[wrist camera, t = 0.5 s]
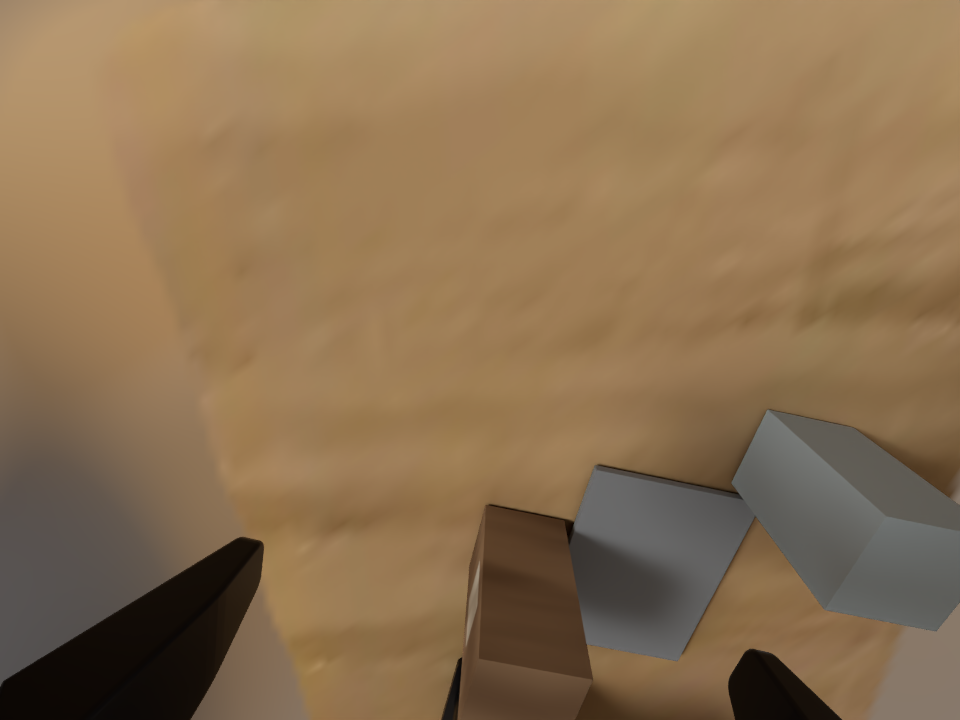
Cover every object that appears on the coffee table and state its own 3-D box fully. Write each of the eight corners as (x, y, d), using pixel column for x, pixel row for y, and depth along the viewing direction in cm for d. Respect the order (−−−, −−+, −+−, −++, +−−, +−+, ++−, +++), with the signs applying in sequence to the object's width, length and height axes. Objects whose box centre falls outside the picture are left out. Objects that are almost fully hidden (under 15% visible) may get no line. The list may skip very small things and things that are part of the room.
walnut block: (543, 579, 25) (561, 750, 18) (469, 565, 25) (456, 731, 18) (564, 520, 24) (593, 680, 16) (485, 504, 24) (478, 658, 16)
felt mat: (674, 654, 27) (677, 661, 26) (536, 628, 27) (536, 634, 26) (757, 498, 23) (761, 503, 22) (594, 464, 22) (596, 469, 22)
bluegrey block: (811, 499, 23) (936, 631, 16) (731, 483, 23) (824, 609, 16) (853, 427, 21) (1008, 541, 15) (767, 409, 21) (886, 516, 15)
